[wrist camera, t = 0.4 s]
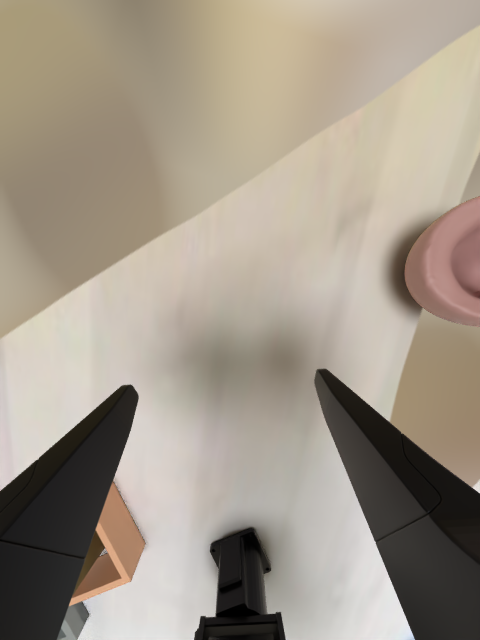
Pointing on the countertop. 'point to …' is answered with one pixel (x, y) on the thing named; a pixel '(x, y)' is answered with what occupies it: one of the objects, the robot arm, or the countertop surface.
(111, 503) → the holder
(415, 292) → the mortar and pestle
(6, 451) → the countertop surface
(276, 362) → the countertop surface
